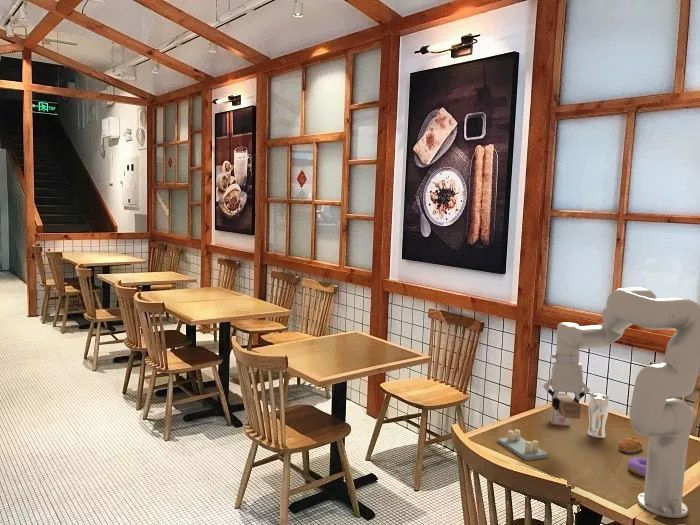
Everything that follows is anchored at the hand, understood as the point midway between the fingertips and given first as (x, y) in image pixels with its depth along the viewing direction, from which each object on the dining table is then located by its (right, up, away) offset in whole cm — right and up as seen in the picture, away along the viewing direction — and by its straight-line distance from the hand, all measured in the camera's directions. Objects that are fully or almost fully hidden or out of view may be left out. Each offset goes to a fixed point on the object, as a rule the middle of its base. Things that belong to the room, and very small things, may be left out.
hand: (565, 409), depth 199 cm
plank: (0, -1, 0) cm, 1 cm away
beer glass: (+18, -14, +16) cm, 28 cm away
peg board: (-15, -14, +1) cm, 21 cm away
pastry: (+25, -16, +4) cm, 29 cm away
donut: (+20, -17, -14) cm, 30 cm away
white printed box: (+8, -13, +27) cm, 31 cm away
